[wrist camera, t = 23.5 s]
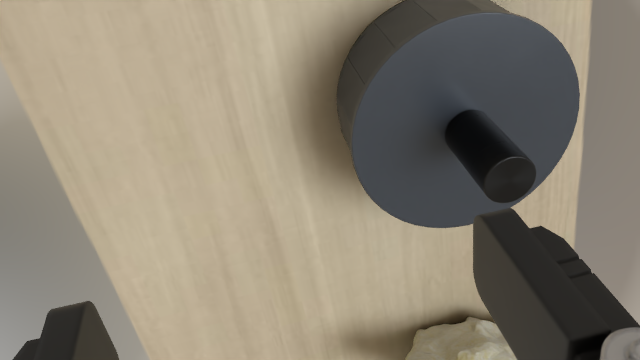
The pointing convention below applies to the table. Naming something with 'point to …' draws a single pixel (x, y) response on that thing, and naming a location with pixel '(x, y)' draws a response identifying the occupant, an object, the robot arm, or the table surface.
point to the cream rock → (461, 342)
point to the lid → (464, 118)
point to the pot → (391, 45)
